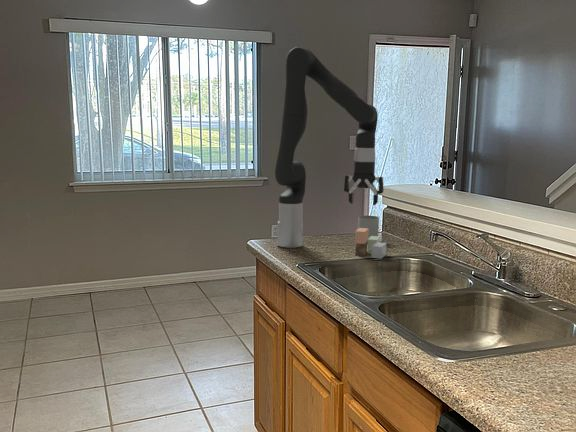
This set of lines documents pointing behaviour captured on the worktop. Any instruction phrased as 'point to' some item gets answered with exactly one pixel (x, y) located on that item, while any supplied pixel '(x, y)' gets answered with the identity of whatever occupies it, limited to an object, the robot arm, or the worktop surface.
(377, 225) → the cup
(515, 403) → the worktop surface
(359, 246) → the walnut brick
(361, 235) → the terracotta brick
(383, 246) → the grey brick
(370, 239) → the sage brick
